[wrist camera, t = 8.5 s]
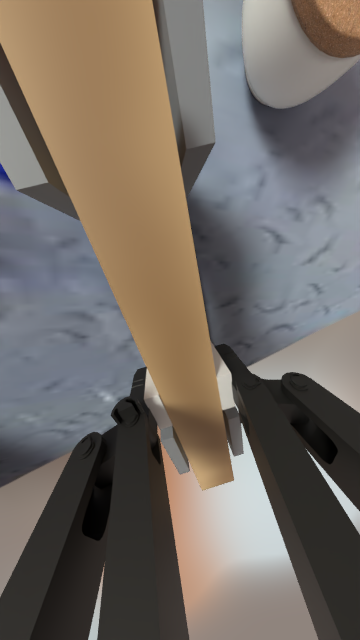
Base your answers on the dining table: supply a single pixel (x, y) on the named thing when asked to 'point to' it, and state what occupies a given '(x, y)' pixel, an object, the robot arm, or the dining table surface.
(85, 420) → the dining table surface
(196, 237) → the dining table surface
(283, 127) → the dining table surface
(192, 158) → the stand
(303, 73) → the lidded jar
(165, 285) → the slat
